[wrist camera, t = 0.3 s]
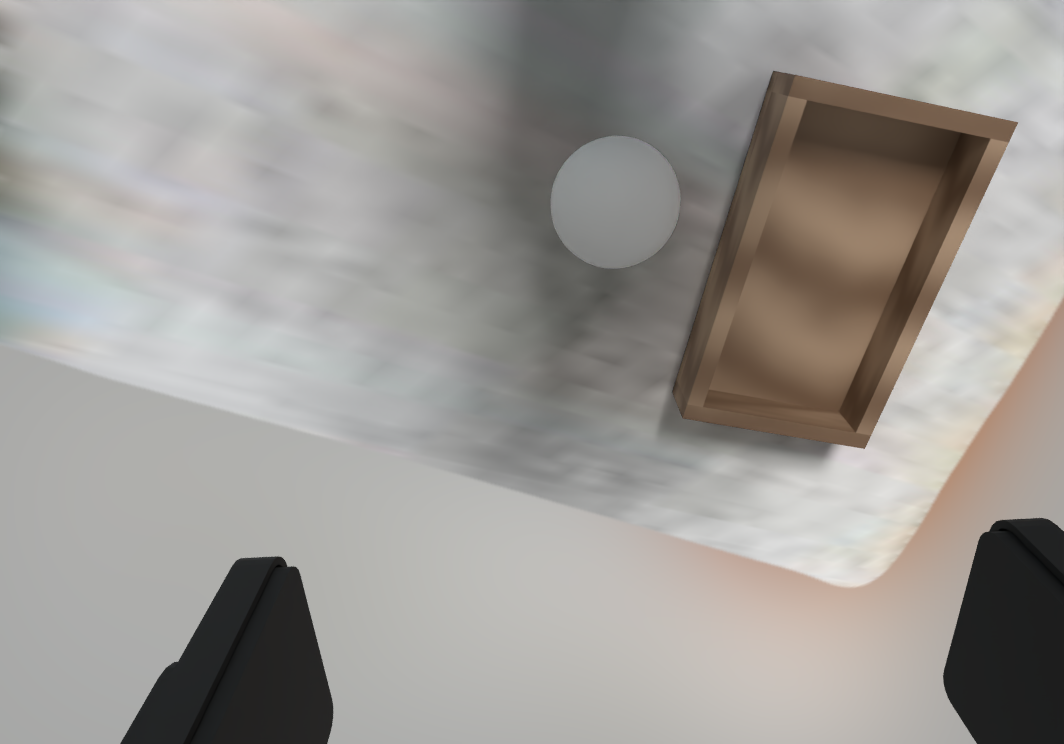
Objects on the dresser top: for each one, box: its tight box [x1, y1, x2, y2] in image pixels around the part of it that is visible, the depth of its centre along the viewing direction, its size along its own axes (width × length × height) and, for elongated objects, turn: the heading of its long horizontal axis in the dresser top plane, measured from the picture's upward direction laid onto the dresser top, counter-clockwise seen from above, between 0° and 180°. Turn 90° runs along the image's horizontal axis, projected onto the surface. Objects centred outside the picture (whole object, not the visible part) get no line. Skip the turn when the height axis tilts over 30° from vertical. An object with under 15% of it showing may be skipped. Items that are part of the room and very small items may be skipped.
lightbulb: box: [551, 136, 681, 269], centre depth 35 cm, size 6×6×11 cm
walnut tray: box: [672, 71, 1018, 449], centre depth 41 cm, size 20×12×4 cm, turn 169°
